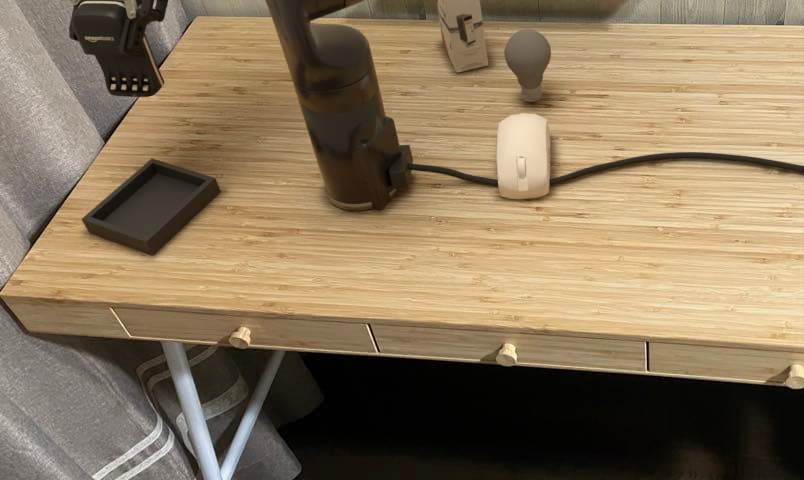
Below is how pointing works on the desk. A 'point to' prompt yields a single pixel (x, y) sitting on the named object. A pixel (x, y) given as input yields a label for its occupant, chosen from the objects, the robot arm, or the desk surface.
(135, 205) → the dock pad
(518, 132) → the computer mouse
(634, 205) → the desk surface
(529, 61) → the light bulb
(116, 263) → the desk surface
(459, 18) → the ink box
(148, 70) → the battery charger
